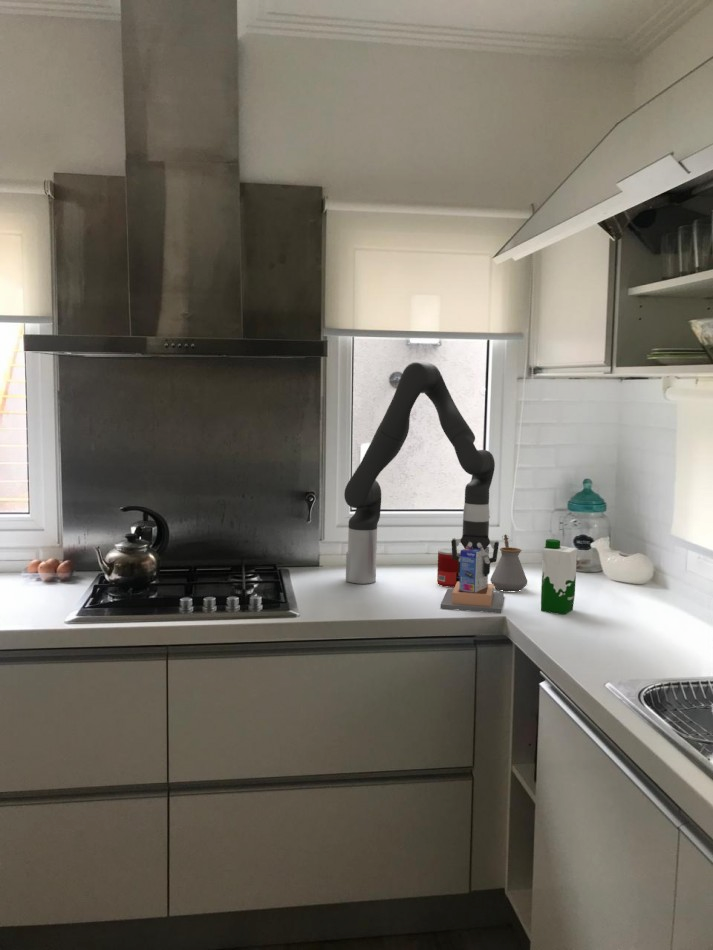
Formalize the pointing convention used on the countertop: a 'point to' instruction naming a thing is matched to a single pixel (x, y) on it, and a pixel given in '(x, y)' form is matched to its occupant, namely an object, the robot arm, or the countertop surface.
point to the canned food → (447, 568)
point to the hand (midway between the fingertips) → (473, 574)
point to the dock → (473, 599)
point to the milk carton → (558, 577)
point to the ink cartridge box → (472, 570)
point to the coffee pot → (509, 570)
